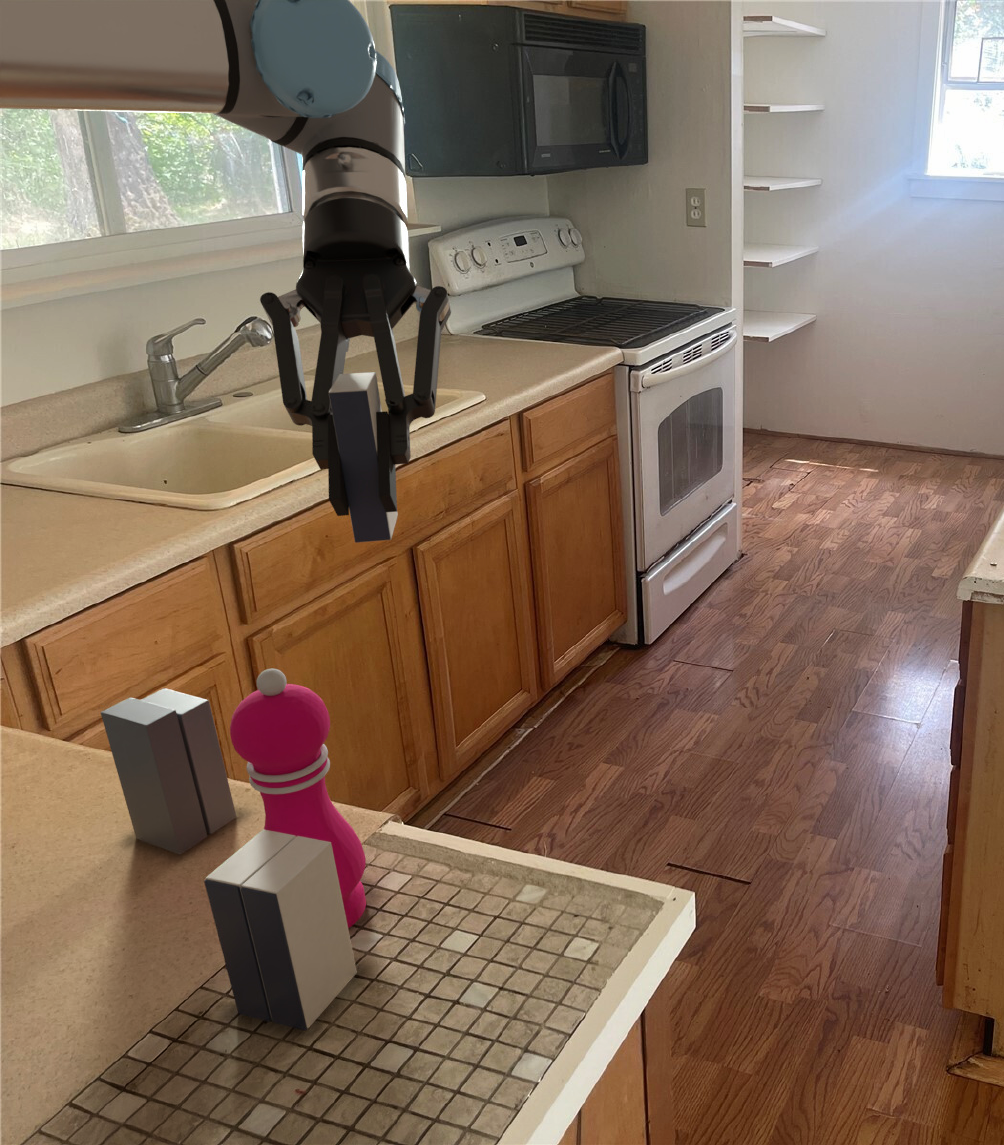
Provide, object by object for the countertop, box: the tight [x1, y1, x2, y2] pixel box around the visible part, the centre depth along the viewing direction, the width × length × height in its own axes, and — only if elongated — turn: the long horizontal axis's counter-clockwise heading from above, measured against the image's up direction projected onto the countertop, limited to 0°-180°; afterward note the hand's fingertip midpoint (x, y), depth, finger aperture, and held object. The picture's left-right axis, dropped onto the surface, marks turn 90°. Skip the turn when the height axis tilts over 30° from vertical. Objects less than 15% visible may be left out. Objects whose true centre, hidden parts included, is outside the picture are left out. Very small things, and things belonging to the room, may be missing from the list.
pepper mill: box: [229, 668, 367, 929], centre depth 73 cm, size 7×7×20 cm
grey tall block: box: [203, 828, 358, 1031], centre depth 67 cm, size 5×5×11 cm
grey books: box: [100, 687, 237, 855], centre depth 84 cm, size 5×5×12 cm
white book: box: [329, 371, 399, 544], centre depth 76 cm, size 2×5×11 cm, turn 12°
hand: (363, 505), depth 74 cm, fingers closed on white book, 2 cm apart
